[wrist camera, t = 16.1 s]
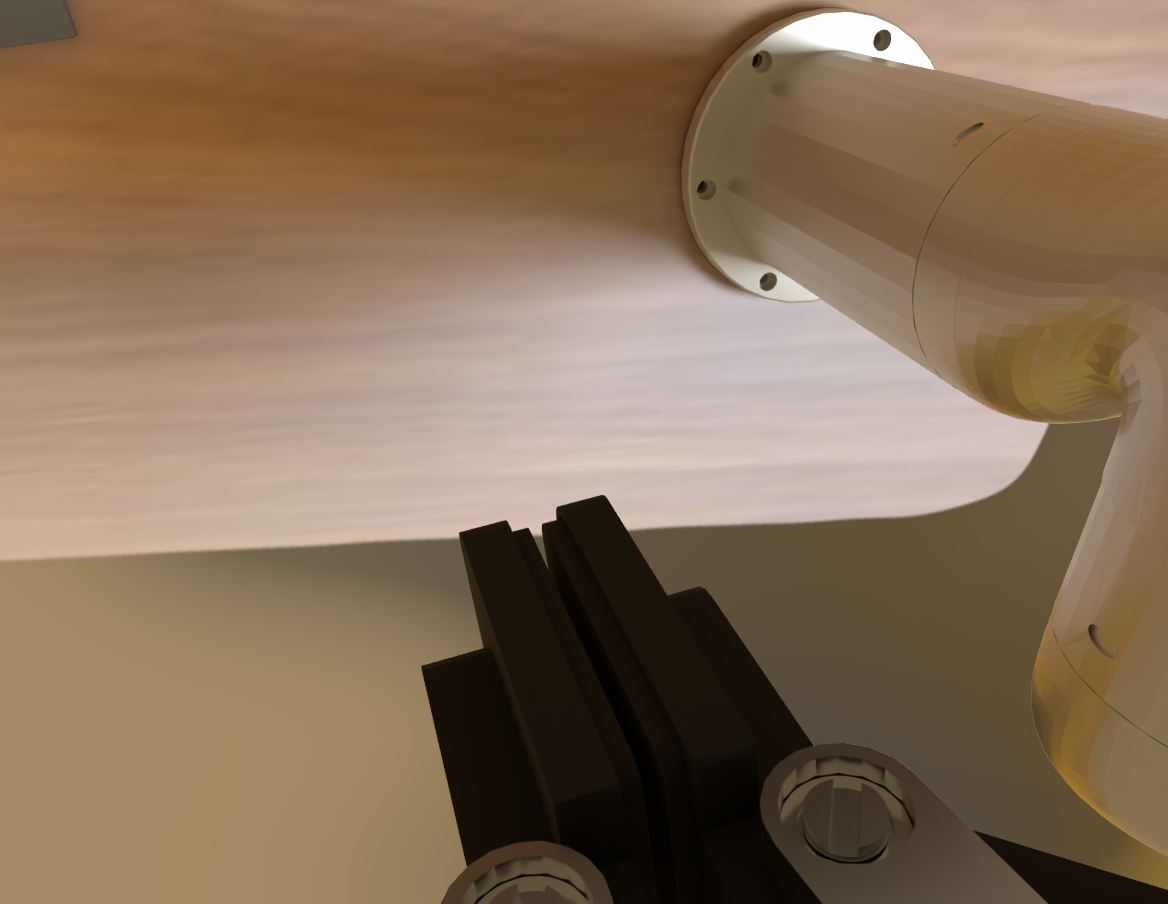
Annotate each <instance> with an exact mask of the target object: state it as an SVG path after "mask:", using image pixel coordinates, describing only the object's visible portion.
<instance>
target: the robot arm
mask: <svg viewBox="0 0 1168 904" xmlns="http://www.w3.org/2000/svg"><path fill="white" fill-rule="evenodd" d="M874 36H876V37H875V41H874V42H873V39H874ZM756 54H757V57H758V60H757V63H756V64H755V65H752V62H753V58H754V56H755V55H756ZM681 177H682V198H683V203H684V208H685V212H686V217H687V222H688V224H689V226H690V229H691V231H692V233H693V236H694V238H695V240H696V242H697V245H698V246H699V247H700V249H701V250H702V252H703V253H704V254H705V256H706V257H707V259H708V260H709V262H710V263H711V264H712V265H713V266H714V267H715V268H716V269H717V270H719V271H720V272H721V273H722V274H723V275H724V276H725V277H726V278H727V279H729V280H730V281H732V282H733V283H735V284H736V285H738V286H739V287H741V288H742V289H743V290H745V291H747V292H750V293H752V294H754V295H756V296H758V297H761V298H764V299H769V300H775V301H780V302H786V303H793V302H812V301H816V300H821V299H822V300H823V301H825V302H826V303H828V304H829V305H831V306H832V307H834V308H835V309H837V310H838V311H840V312H841V313H843V314H844V315H846V316H847V317H849V318H850V319H852V320H853V321H855V322H856V323H858V324H859V325H861V326H862V327H864V328H865V329H867V330H868V331H870V332H871V333H873V334H874V335H876V336H878V337H879V338H881V339H882V340H884V341H885V342H887V343H888V344H890V345H891V346H893V347H894V348H896V349H897V350H899V351H900V352H902V353H903V354H905V355H906V356H908V357H909V358H911V359H912V360H914V361H915V362H917V363H918V364H920V365H921V366H923V367H924V368H926V369H927V370H929V371H930V372H932V373H933V374H935V375H936V376H938V377H939V378H941V379H942V380H944V381H945V382H947V383H948V384H950V385H951V386H953V387H954V388H956V389H958V390H960V391H961V392H963V393H964V394H966V395H967V396H969V397H970V398H972V399H974V400H975V401H977V402H979V403H980V404H982V405H984V406H986V407H988V408H990V409H992V410H994V411H997V412H999V413H1002V414H1005V415H1008V416H1011V417H1014V418H1018V419H1022V420H1027V421H1035V422H1043V423H1056V424H1065V423H1078V422H1090V421H1097V420H1103V419H1108V418H1113V417H1118V416H1122V419H1121V424H1120V427H1119V430H1118V433H1117V436H1116V439H1115V442H1114V445H1113V447H1112V450H1111V453H1110V456H1109V459H1108V461H1107V464H1106V466H1105V469H1104V472H1103V481H1102V484H1101V486H1100V489H1099V491H1098V494H1097V496H1096V499H1095V502H1094V504H1093V507H1092V509H1091V512H1090V514H1089V517H1088V520H1087V522H1086V525H1085V527H1084V530H1083V532H1082V535H1081V538H1080V540H1079V543H1078V546H1077V548H1076V550H1075V553H1074V555H1073V558H1072V561H1071V563H1070V566H1069V568H1068V571H1067V573H1066V576H1065V579H1064V581H1063V584H1062V587H1061V589H1060V591H1059V594H1058V597H1057V599H1056V602H1055V604H1054V608H1053V612H1052V615H1051V617H1050V620H1049V622H1048V625H1047V628H1046V630H1045V633H1044V636H1043V639H1042V642H1041V646H1040V649H1039V652H1038V656H1037V659H1036V663H1035V668H1034V673H1033V678H1032V692H1031V706H1032V712H1033V719H1034V724H1035V729H1036V731H1037V734H1038V737H1039V739H1040V742H1041V744H1042V746H1043V748H1044V751H1045V753H1046V754H1047V756H1048V758H1049V760H1050V761H1051V763H1052V764H1053V766H1054V767H1055V768H1056V769H1057V771H1058V772H1059V773H1060V775H1061V776H1062V777H1063V778H1064V780H1065V781H1066V783H1067V784H1068V785H1069V786H1070V787H1071V788H1072V789H1073V790H1074V791H1075V792H1076V793H1077V794H1078V795H1079V796H1080V797H1081V798H1082V799H1083V800H1084V801H1085V802H1087V803H1088V804H1089V805H1090V806H1091V807H1093V808H1094V809H1095V810H1096V811H1097V812H1098V813H1099V814H1100V815H1102V816H1103V817H1104V818H1106V819H1107V820H1108V821H1110V822H1111V823H1112V824H1114V825H1115V826H1117V827H1118V828H1119V829H1121V830H1123V831H1124V832H1126V833H1127V834H1129V835H1130V836H1132V837H1133V838H1135V839H1137V840H1138V841H1140V842H1142V843H1144V844H1145V845H1146V846H1148V847H1150V848H1152V849H1154V850H1156V851H1157V852H1159V853H1161V854H1163V855H1165V856H1167V857H1168V119H1165V118H1160V117H1155V116H1150V115H1146V114H1141V113H1136V112H1132V111H1127V110H1122V109H1118V108H1113V107H1108V106H1102V105H1094V104H1089V103H1085V102H1080V101H1076V100H1071V99H1067V98H1062V97H1057V96H1053V95H1048V94H1044V93H1039V92H1035V91H1030V90H1025V89H1021V88H1016V87H1012V86H1007V85H1003V84H998V83H993V82H989V81H984V80H980V79H975V78H971V77H966V76H961V75H957V74H952V73H948V72H943V71H939V70H935V68H934V66H933V64H932V62H931V60H930V58H929V57H928V55H927V54H926V53H925V52H924V50H923V49H922V48H921V47H920V45H919V44H918V43H917V41H916V40H915V39H914V38H913V37H911V36H910V35H909V34H908V33H906V32H905V31H904V30H903V29H901V28H900V27H899V26H898V25H896V24H895V23H892V22H890V21H888V20H886V19H884V18H881V17H879V16H877V15H875V14H872V13H867V12H862V11H857V10H852V9H836V8H822V9H816V10H810V11H805V12H799V13H797V14H794V15H792V16H789V17H787V18H784V19H782V20H779V21H777V22H774V23H772V24H771V25H769V26H768V27H766V28H765V29H763V30H762V31H760V32H759V33H757V34H755V35H754V36H752V37H751V38H749V39H748V40H747V41H746V42H745V43H744V44H743V45H742V46H741V47H740V48H739V49H738V50H737V51H735V52H734V53H733V54H732V55H731V56H730V57H729V58H728V59H727V60H726V62H725V63H724V64H723V66H722V67H721V68H720V70H719V71H718V72H717V74H716V75H715V76H714V78H713V79H712V80H711V82H710V83H709V84H708V86H707V88H706V90H705V92H704V94H703V96H702V98H701V100H700V102H699V104H698V106H697V108H696V109H695V112H694V115H693V118H692V121H691V124H690V127H689V130H688V133H687V136H686V140H685V146H684V153H683V160H682V166H681ZM702 181H703V187H702V189H701V190H699V191H697V187H698V185H699V184H700V183H701V182H702ZM763 275H764V277H763V278H762V279H761V277H762V276H763ZM760 279H761V280H760ZM556 518H557V520H555V521H551V522H548V523H544V524H542V534H543V541H544V546H545V552H546V558H547V564H548V569H547V566H546V564H545V562H544V561H543V558H542V556H541V553H540V551H539V549H538V547H537V545H536V542H535V540H534V538H533V536H532V534H531V532H530V530H529V528H525V529H521V530H517V531H514V532H512V530H511V528H510V526H509V524H508V522H507V521H506V520H505V521H501V522H497V523H493V524H489V525H486V526H482V527H478V528H474V529H470V530H467V531H463V532H459V537H460V543H461V547H462V552H463V557H464V561H465V566H466V570H467V575H468V579H469V584H470V589H471V593H472V598H473V602H474V606H475V611H476V616H477V620H478V625H479V629H480V634H481V638H482V643H483V647H484V648H483V649H479V650H476V651H473V652H469V653H466V654H462V655H458V656H455V657H452V658H448V659H444V660H441V661H438V662H434V663H430V664H427V665H423V666H421V667H422V673H423V677H424V682H425V686H426V690H427V694H428V699H429V704H430V707H431V712H432V716H433V720H434V725H435V730H436V734H437V738H438V743H439V747H440V751H441V756H442V760H443V765H444V769H445V773H446V777H447V781H448V786H449V790H450V795H451V799H452V804H453V808H454V812H455V817H456V821H457V826H458V830H459V834H460V839H461V843H462V847H463V852H464V856H465V860H466V865H467V868H466V869H465V870H464V871H463V872H462V873H461V874H460V875H459V876H458V877H457V878H456V880H455V881H454V882H453V883H452V884H451V885H450V887H449V888H448V890H447V892H446V894H445V896H444V898H443V900H442V902H441V904H1168V890H1166V889H1162V888H1159V887H1156V886H1153V885H1149V884H1146V883H1143V882H1140V881H1136V880H1133V879H1130V878H1126V877H1123V876H1120V875H1117V874H1114V873H1110V872H1107V871H1103V870H1101V869H1097V868H1094V867H1091V866H1087V865H1084V864H1081V863H1078V862H1075V861H1071V860H1068V859H1065V858H1062V857H1058V856H1055V855H1052V854H1049V853H1045V852H1042V851H1039V850H1035V849H1032V848H1029V847H1026V846H1023V845H1019V844H1016V843H1013V842H1009V841H1006V840H1003V839H999V838H997V837H993V836H990V835H987V834H983V833H980V832H977V831H974V830H972V829H971V828H970V827H969V826H967V824H966V823H965V822H963V820H961V819H960V818H959V817H958V816H957V815H956V814H955V813H954V812H953V811H952V810H951V809H950V808H949V807H948V806H947V805H946V804H945V803H944V802H943V801H942V800H941V799H940V798H939V797H938V796H937V795H936V794H935V793H934V792H933V791H932V790H931V789H930V788H929V787H928V786H926V784H924V783H923V782H922V781H921V780H920V779H919V778H918V777H917V776H916V775H915V774H914V773H913V772H912V771H910V770H909V769H908V768H906V767H905V766H904V765H902V764H901V763H900V762H898V761H897V760H896V759H894V758H893V757H891V756H888V755H886V754H884V753H881V752H879V751H876V750H874V749H872V748H869V747H864V746H858V745H853V744H846V743H834V744H818V745H815V746H813V744H812V743H811V742H810V740H809V739H808V737H807V736H806V734H805V733H804V731H803V730H802V728H801V727H800V725H799V724H798V722H797V721H796V720H795V718H794V717H793V715H792V714H791V712H790V711H789V709H788V708H787V706H786V705H785V703H784V702H783V700H782V699H781V698H780V696H779V695H778V693H777V692H776V690H775V689H774V687H773V686H772V684H771V683H770V681H769V680H768V678H767V677H766V676H765V674H764V673H763V671H762V670H761V668H760V667H759V665H758V664H757V662H756V661H755V659H754V658H753V657H752V655H751V654H750V652H749V651H748V649H747V648H746V646H745V645H744V643H743V642H742V640H741V639H740V637H739V636H738V634H737V633H736V632H735V630H734V629H733V627H732V626H731V624H730V623H729V621H728V620H727V618H726V617H725V616H724V614H723V613H722V611H721V610H720V608H719V607H718V605H717V604H716V602H715V601H714V599H713V598H712V597H711V595H710V594H709V593H708V592H707V591H706V590H705V589H704V588H702V587H696V588H692V589H689V590H686V591H682V592H678V593H675V594H672V595H668V596H667V594H666V593H665V591H664V589H663V588H662V586H661V585H660V583H659V581H658V580H657V578H656V576H655V575H654V573H653V572H652V570H651V568H650V567H649V565H648V564H647V562H646V560H645V559H644V558H643V555H642V554H641V552H640V551H639V549H638V548H637V546H636V544H635V543H634V541H633V539H632V538H631V536H630V535H629V533H628V531H627V530H626V528H625V526H624V525H623V523H622V521H621V520H620V518H619V517H618V515H617V513H616V512H615V510H614V509H613V507H612V505H611V504H610V502H609V500H608V499H607V498H606V497H605V496H604V495H600V496H596V497H592V498H589V499H585V500H581V501H577V502H573V503H570V504H566V505H562V506H558V507H557V509H556ZM548 570H549V571H548Z"/></svg>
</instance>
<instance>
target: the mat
mask: <svg viewBox="0 0 1168 904" xmlns="http://www.w3.org/2000/svg"><path fill="white" fill-rule="evenodd" d="M75 36H77V33H76V30H75V27H74V24H73V21H72V18H71V15H70V13H69V10H68V7H67V4H66V1H65V0H0V48H6V47H13V46H19V45H25V44H32V43H38V42H45V41H51V40H58V39H64V38H71V37H75Z"/></svg>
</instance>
